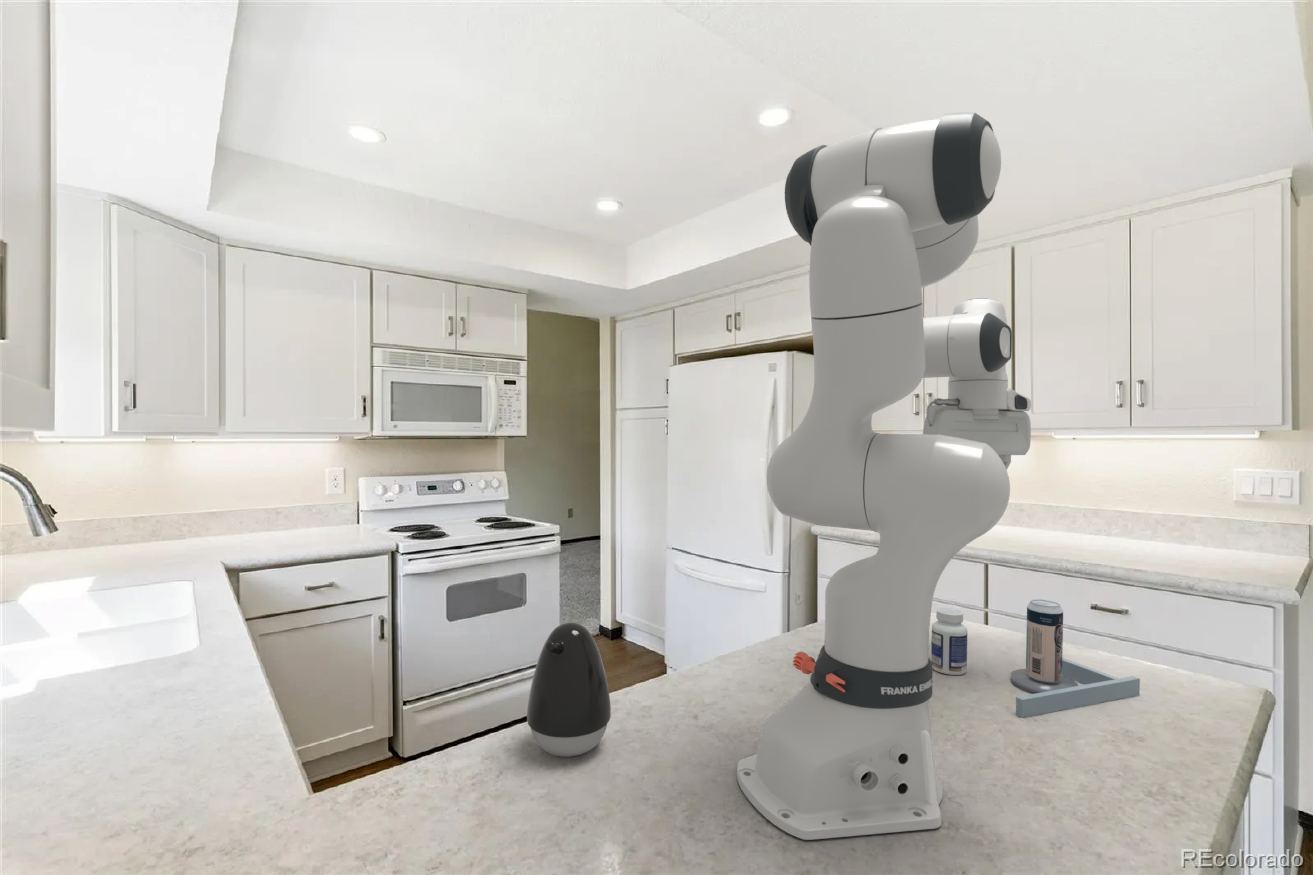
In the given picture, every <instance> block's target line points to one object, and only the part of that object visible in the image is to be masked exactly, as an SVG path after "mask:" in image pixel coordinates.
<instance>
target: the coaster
mask: <svg viewBox="0 0 1313 875" xmlns="http://www.w3.org/2000/svg"><path fill="white" fill-rule="evenodd" d="M1010 682H1011V684H1012V685H1013V686H1015V687H1016V688H1018V689H1019V690H1021V691H1024V692H1025V693H1030V694H1035V693H1041V692H1047V691H1052V690H1058V689H1064V688H1069V687H1075V686H1079V684H1078V683H1077V681H1076V682H1075V680H1072V679H1070V678H1067V677H1065V676H1062V680H1061V681H1060V682H1058V683H1055V684H1045V683H1041V682H1037V681H1035V680H1033V679H1031V678H1030V677H1029V676H1028V675H1027V674H1026V668H1020V669H1015V670H1013V671H1011V672H1010Z"/></svg>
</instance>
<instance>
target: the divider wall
mask: <svg viewBox="0 0 1313 875" xmlns="http://www.w3.org/2000/svg"><path fill="white" fill-rule="evenodd" d="M1062 676H1065V677H1067V678H1069V679H1071V680H1073V681H1076V682H1078V683H1080V684H1082V685H1078V686H1075V687H1069V688H1064V689H1058V690H1052V691H1047V692H1041V693H1035V694H1032V693H1030V694H1025V695H1020V696H1019V695H1018V696H1016V697H1015V715H1016V716H1017V717H1019V718H1021V719H1023V718H1029V717H1033V716H1039V715H1044V714H1045V715H1046V714H1049V713H1055V712H1059V711H1063V710H1070V709H1075V708H1079V707H1085V706H1091V705H1095V704H1100V703H1106V702H1107V703H1108V702H1110V701H1115V700H1116V701H1117V700H1123V699H1126V698H1132V697H1136V696H1140V689H1141V688H1140V685H1141V684H1140V683H1141V682H1140V681H1141V680H1140V678H1138V677H1136V676H1131V675H1130V676H1127V677H1120V678H1118V677H1116V676H1114V675H1110V674H1107V673H1105V672H1102V671H1099V670H1097V669H1094V668H1091V667H1088V666H1085V665H1084V664H1080V663H1077V662H1075V661H1072V660H1069V659H1067V658H1064V657H1062Z"/></svg>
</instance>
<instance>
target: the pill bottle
mask: <svg viewBox="0 0 1313 875" xmlns="http://www.w3.org/2000/svg"><path fill="white" fill-rule="evenodd" d="M935 619H937V621H934V622H933V623H932V624H931V646H930V647H931V648H930V649H931V651H930V652H931V653H930V654H931V655H930V657H931V658H930V660H931V661H932V670H933V671H934V670H935V672H938V673H941V674H943V675H944V674H945V675H950V676H962V675H965V674H966V673H967V671H968V628H967V627H966V626H965V625H964V624H963V622H964V613H963V612H962V611H961V610H957V609H954V608H946V607H945V608H937V609H936V618H935Z"/></svg>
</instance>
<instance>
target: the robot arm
mask: <svg viewBox="0 0 1313 875" xmlns="http://www.w3.org/2000/svg"><path fill="white" fill-rule="evenodd" d="M1001 169H1002V154H1001V148H1000V144H999V141H998V139H997V137H996V135H995V133H994V129H993V126H992V124H991V122H990V121H989V120H987V119H985V118H984V117H983V116H981V115H980V114H978V113H977V112H954V113H953V112H951V113H944V114H943V115H941V117H940V118H931V119H925V120H920V121H919V120H918V121H912V122H908V123H902V124H898V125H892V126H890V127H889V126H887V127H885V128H883V127H878V128H874V129H871V130H867V131H863V132H861V133H857V134H855V135H852V136H849V137H846V138H843V139H841V140H839V141H837V142H834V143H832V144H830V145H826V144H822V145H820V146H819V145H818V146H817V147H814V148H812V149H811V150H808V151H807V152H805V153H804V154H801V155H800V156H799V157H797V158H796V159H795V160H794V161H793V164H792V166H791V168H790V170H789V172H788V175H787V177H786V178H785V184H784V204H785V205H784V206H785V210H786V214H787V217H788V220H789V222H790V224H791V227H792V228H793V229H794V231H795V232H796V234H797V235H798V236H799V237H800V238H801V239H802V240H803V241H804V242H806V243H808V244H809V245H810V252H809V254H810V255H809V257H810V258H809V279H808V281H809V283H808V284H809V285H808V286H809V287H808V288H809V307H810V316H811V317H810V318H811V329H812V330H811V331H812V341H813V342H812V343H813V345H812V346H813V363H814V364H813V367H814V368H813V374H814V375H813V376H814V378H813V381H814V382H813V390H812V395H811V400H810V404H809V406H808V409H807V411H806V414H804V415H805V416H804V418H803V419H802V420H801V423H800V424H799V425H798V426H797V428H796V429H795V430H794V431H793V432H792V433H791V434H790V435H789V436H788V437H787V438H786V439H784V440H783V441H781V443H779V445H778V446H777V447H776V449H774V451H773V453H772V455H771V457H770V459H769V462H768V466H767V468H766V469H767V470H766V486H767V491H768V494H769V497H770V499H771V501H772V503H773V504H774V505H773V506H775V508H776V509H777V511H778V512H779V513H781V515H784V516H786V517H790V518H792V519H796V520H799V521H802V522H805V523H809V524H812V525H816V526H820V527H831V528H840V529H849V530H851V529H852V530H860V531H861V530H862V531H870V532H875V533H878V534H879V544H878V549H877V551H876V553H875V554H873V555H871V556H868V557H865V558H862V559H859V560H857V561H855V562H854V561H853V562H851V563H849V564H847V565H845V566H843V567H841V568H839V569H838V570H837V571H836V572H835V573H834V574H832V575H831V577H830V578H829V581H828V583H827V585H826V587H825V595H824V596H825V597H824V644H823V645H822V647H821V648H820V651H819V654H818V655H817V658H816V660H815V658H814V657H812V656H809V655H808V654H807V653H806V652H804V651H799V652H796V653H795V656H793V658H792V659H793V660H792V663H793V664H792V665H793V666H794V668H795V669H797V670H799V671H801V672H802V673H803V674H805V675H810V677H809V678H810V679H809V680H810V681H809V683H808V684H806V685H805V686H804V687H803V688H802V689H801V690H800V691H798V692H797V693H796V694H795V695H794V696H793V697H792V698H790V700H788V701H787V702H786V703H785V704H784V705H783V706H781V707H780V708H779V709H778V710H776V712H774V713H773V714H772V715H771V716H769V717H768V718H767V719H766V720H765V722H764V723H763V725H762V728H761V732H760V736H759V740H758V745H757V746H758V747H757V753H756V754H753V755H750V756H747V757H745V758H742V759H739V761H738V763H737V768H736V779H737V782H738V785H739V787H740V789H741V791H742V793H743V794H744V796H745V797H746V798H747V800H748V801H749V802H750V803H751V805H753V806H754V808H755V809H756V810H757V811H758V813H760V814H761V815H762V816H763V817H764V818H765V819H767V820H768V821H769V822H770V823H772V825H774V826H776V827H777V828H778V829H780V830H782V831H784V832H786V833H787V834H789V835H792V836H794V837H797V838H798V839H801V840H805V841H809V840H821V839H833V838H844V837H855V836H856V837H857V836H867V835H878V834H887V833H888V834H889V833H899V832H900V833H901V832H912V831H922V830H923V831H924V830H932V829H933V830H934V829H937V828H939V827H942V814H941V809H940V804H941V801H942V799H943V794H944V792H943V791H944V790H943V787H942V784H941V780H940V776H939V774H938V772H939V771H938V769H937V763H936V759H935V754H934V744H933V737H932V726H931V718H930V717H931V716H930V704H929V700H930V699H931V698H932V696H933V684H934V678H933V668H932V661H931V658H929V649H930V648H929V647H930V646H929V645H930V644H929V641H930V626H931V625H930V624H931V615H932V607H933V599H934V595H935V594H934V593H935V590H936V588H937V584H938V582H939V580H940V577H941V575H942V574H943V571H945V568H946V567H947V566H948V564H950V561H952V560H953V558H954V557H955V556H956V555H957V554H958V553H959V552H960V551H961V550H962V549H963V548H965V547H966V546H967V545H968V544H970V543H971V542H973V541H975V540H976V539H978V538H980V537H981V536H983V535H985V534H986V533H988V532H989V531H990V530H992V529H993V528H994V527H995V526H996V525H997V524H998V523H999V521H1000V520H1001V519H1002V517H1003V516H1004V514H1005V512H1006V510H1007V508H1008V504H1009V500H1010V496H1011V484H1010V482H1011V481H1010V477H1009V473H1008V468H1009V467H1010V464H1011V463H1012V456H1025V455H1027V453H1028V452H1029V450H1030V448H1031V438H1032V437H1031V436H1032V432H1031V430H1032V429H1031V428H1032V426H1031V419H1030V416H1029V414H1028V413H1027V412H1029V411H1030V410H1031V408H1032V401H1031V399H1030V397H1027V396H1025V395H1023V394H1020V393H1019V392H1017V391H1015V390H1014V389H1012V388H1010V387H1009V378H1008V375H1007V370H1006V365H1007V363H1008V362H1010V360H1011V359H1012V345H1013V344H1012V343H1013V340H1012V339H1013V336H1012V335H1013V333H1012V329H1011V327H1010V326H1009V324H1008V320H1007V313H1006V308H1005V306H1004V304H1003V303H1002V302H1001V301H998V300H996V299H993V298H984V297H981V298H972V299H966V300H963V301H961V302H959V303H958V304H956V305H955V306H954V309H953V311H952V315H941V316H940V315H939V316H929V317H928V316H927V317H924V309H923V308H924V306H923V305H924V304H923V292H922V291H923V290H922V289H923V288H926V287H928V286H930V285H933V284H937V283H939V282H942V281H943V280H945V279H946V278H948V277H950V276H951V275H953V274H954V273H955V272H957V271H958V269H960V268H961V267H962V266H963V265H964V264H965V262H966V261H967V260H969V258H970V257H971V255H972V253H973V251H974V249H975V248H976V246H977V242H978V240H979V218H978V215H980V214H981V213H982V212H983V211H984V209H985V208H987V206H989V204H990V203H991V202H992V200H993V198H994V196H995V192H996V187H997V185H998V182H999V179H1000V176H1001ZM928 378H930V379H931V378H948V381H947V382H948V384H947V385H948V386H947V389H948V390H947V392H948V393H947V396H948V397H947V398H940V397H939V398H935V399H933V400H932V401H931V402H929V404H928V405H926V413H925V414H926V415H925V417H924V418H925V419H924V421H923V422H924V424H923V430H922V434H920V433H918V434H917V433H916V434H914V433H913V434H912V433H879V432H875V431H873V427H872V420H873V419H872V418H873V415H874V414H875V413H877V412H878V411H881V410H883V409H885V408H887V407H890V406H892V405H894V404H896V403H897V402H899V401H900V400H901V401H902V400H903V399H904V398H906V397H908V396H909V395H910V394H912V392H914V391H915V390H916V389H917V387H918V386H919V385H920V384H921V382H922V380H923V379H928Z"/></svg>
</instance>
